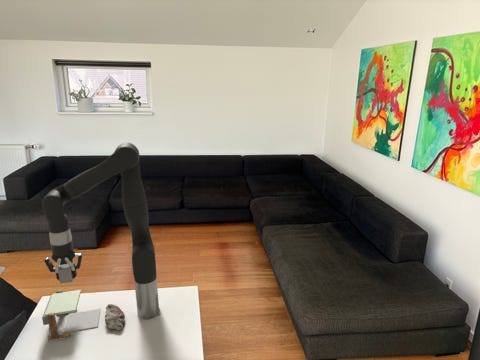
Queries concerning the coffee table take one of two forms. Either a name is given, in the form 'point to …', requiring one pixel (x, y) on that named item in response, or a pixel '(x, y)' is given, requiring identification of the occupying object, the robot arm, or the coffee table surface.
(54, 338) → the frame
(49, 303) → the trapdoor
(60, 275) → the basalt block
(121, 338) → the coffee table surface
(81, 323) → the mat
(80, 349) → the coffee table surface
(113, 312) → the mineral rock
